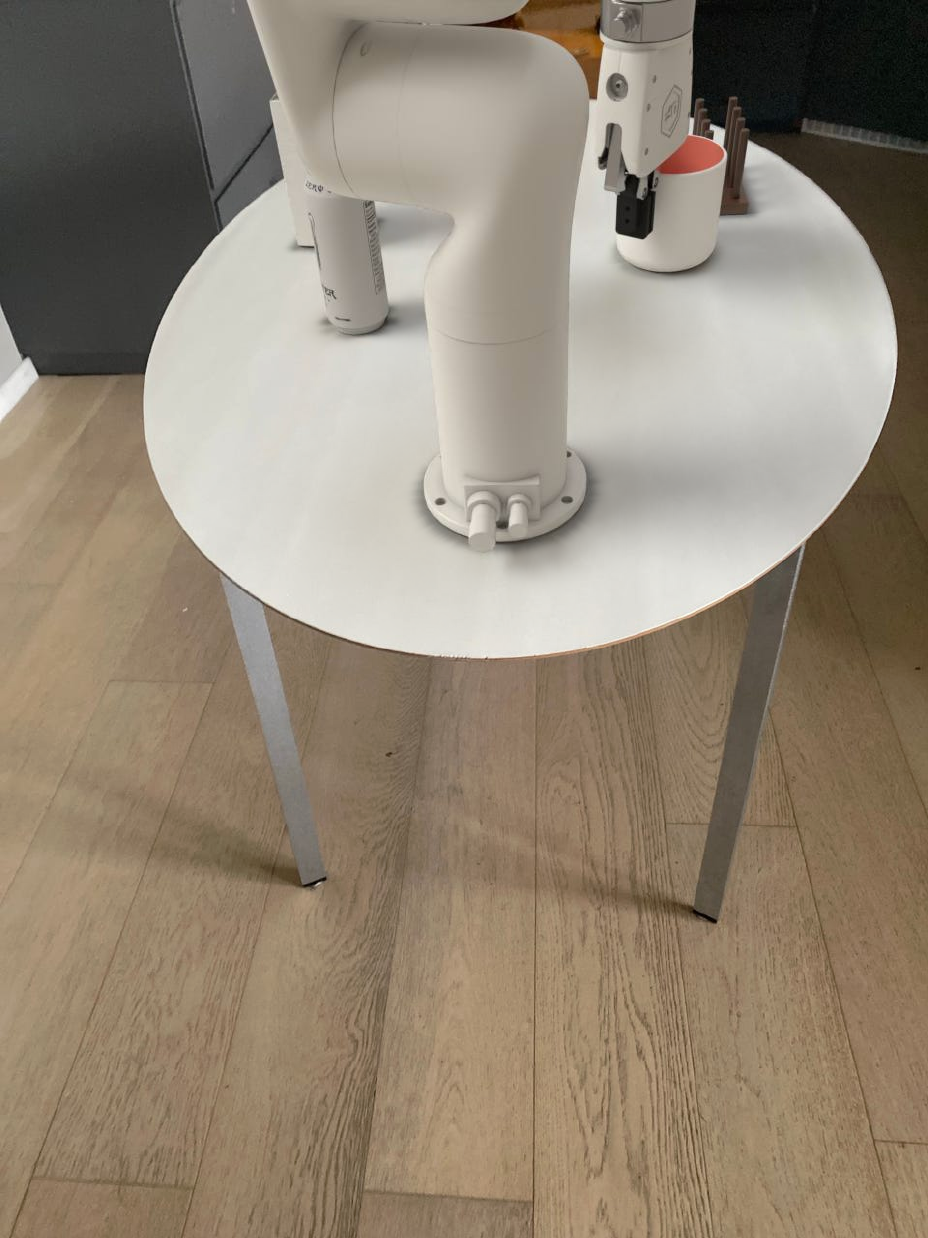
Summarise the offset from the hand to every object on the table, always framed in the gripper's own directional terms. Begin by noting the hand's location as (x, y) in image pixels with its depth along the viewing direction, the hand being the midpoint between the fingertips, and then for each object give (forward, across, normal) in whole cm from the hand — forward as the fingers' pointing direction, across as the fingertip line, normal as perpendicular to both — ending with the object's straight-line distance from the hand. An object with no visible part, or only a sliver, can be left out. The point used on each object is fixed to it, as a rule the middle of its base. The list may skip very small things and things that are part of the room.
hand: (633, 232), depth 91 cm
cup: (+6, +7, 0) cm, 9 cm away
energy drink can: (+5, -18, +20) cm, 28 cm away
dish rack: (+6, +23, +2) cm, 24 cm away
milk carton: (+6, -4, +34) cm, 35 cm away
